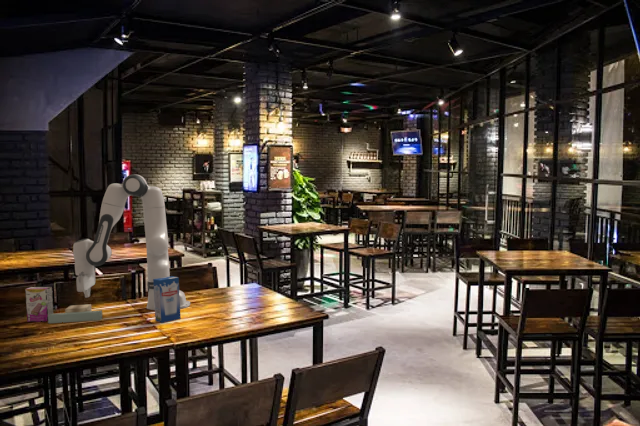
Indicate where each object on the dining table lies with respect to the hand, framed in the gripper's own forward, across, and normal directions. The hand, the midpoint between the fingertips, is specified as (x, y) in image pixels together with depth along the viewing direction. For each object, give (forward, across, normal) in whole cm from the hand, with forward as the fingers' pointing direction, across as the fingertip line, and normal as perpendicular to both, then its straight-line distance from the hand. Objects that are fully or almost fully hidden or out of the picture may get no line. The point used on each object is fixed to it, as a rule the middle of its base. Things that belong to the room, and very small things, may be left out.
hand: (87, 296), depth 278 cm
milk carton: (+10, -28, -44) cm, 53 cm away
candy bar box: (+7, -12, +19) cm, 24 cm away
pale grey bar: (+8, -18, +1) cm, 19 cm away
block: (+8, -12, +2) cm, 15 cm away
